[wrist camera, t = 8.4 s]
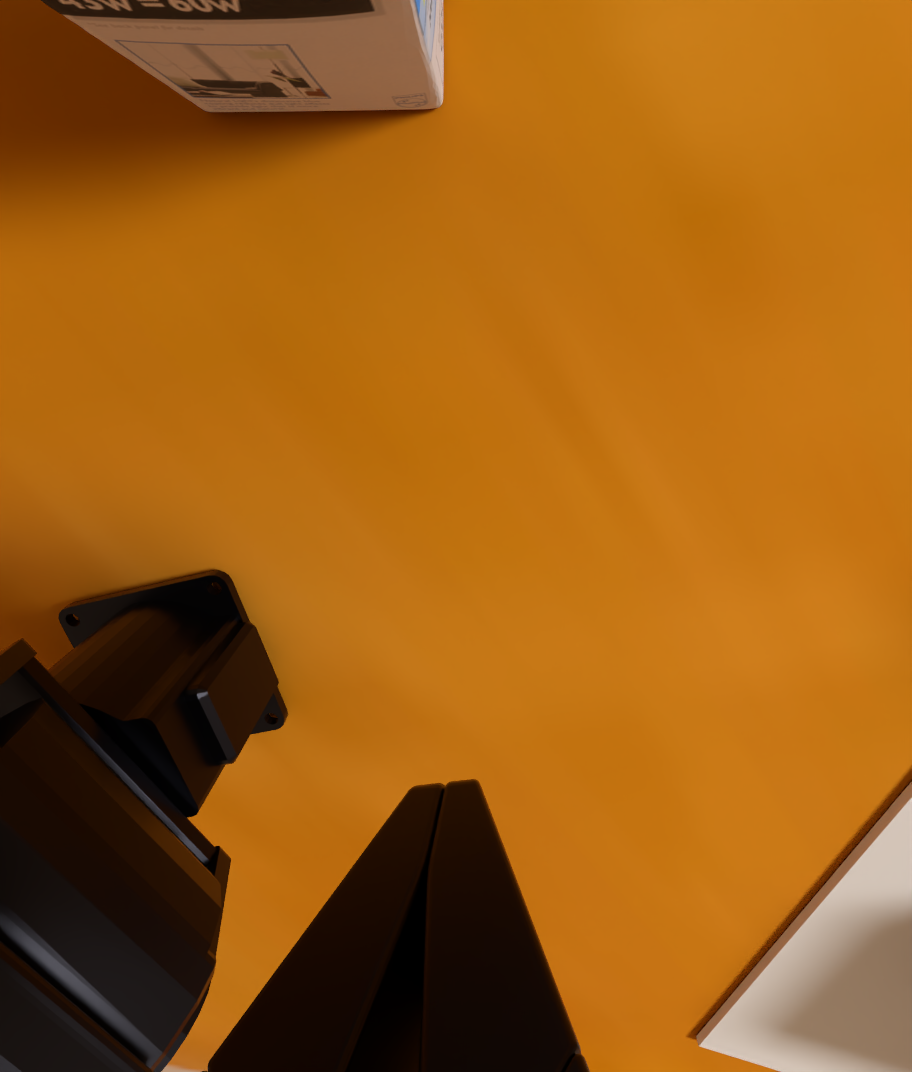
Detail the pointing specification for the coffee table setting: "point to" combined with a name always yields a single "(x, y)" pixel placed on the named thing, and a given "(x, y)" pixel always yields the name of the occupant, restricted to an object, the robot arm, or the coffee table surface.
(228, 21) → the light bulb box
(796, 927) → the white board
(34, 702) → the robot arm
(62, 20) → the coffee table surface
